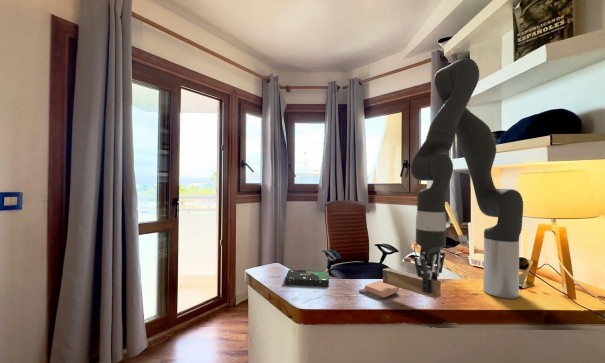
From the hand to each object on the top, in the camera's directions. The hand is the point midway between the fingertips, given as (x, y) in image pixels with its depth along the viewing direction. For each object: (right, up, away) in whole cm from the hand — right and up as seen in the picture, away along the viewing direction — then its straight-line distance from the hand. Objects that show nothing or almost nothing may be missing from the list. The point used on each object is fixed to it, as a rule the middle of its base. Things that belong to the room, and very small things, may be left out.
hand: (429, 290), depth 77 cm
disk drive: (-33, -6, +22) cm, 40 cm away
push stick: (-4, -1, +4) cm, 6 cm away
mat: (-11, -5, +12) cm, 17 cm away
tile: (-8, -4, +9) cm, 12 cm away
